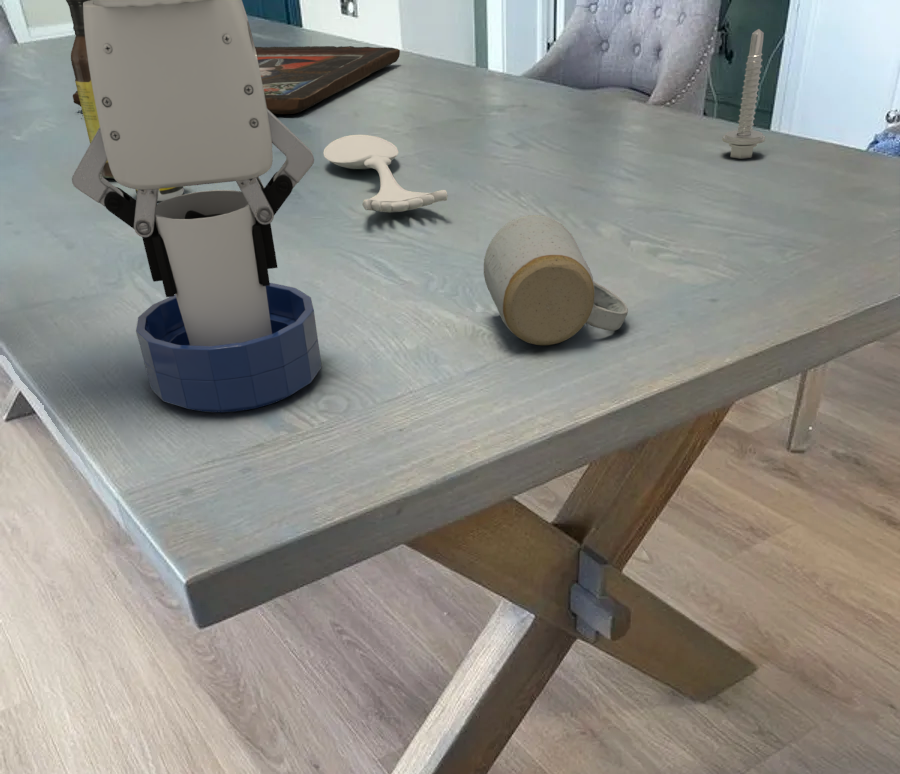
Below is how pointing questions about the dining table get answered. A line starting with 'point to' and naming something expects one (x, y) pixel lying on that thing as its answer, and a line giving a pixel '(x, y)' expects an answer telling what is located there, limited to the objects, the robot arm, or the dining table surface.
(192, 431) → the dining table surface
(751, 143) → the screw
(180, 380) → the bowl
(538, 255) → the ceramic mug
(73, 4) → the sauce bottle
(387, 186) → the cream back scratcher
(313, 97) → the religious icon
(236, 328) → the white cylindrical cup
